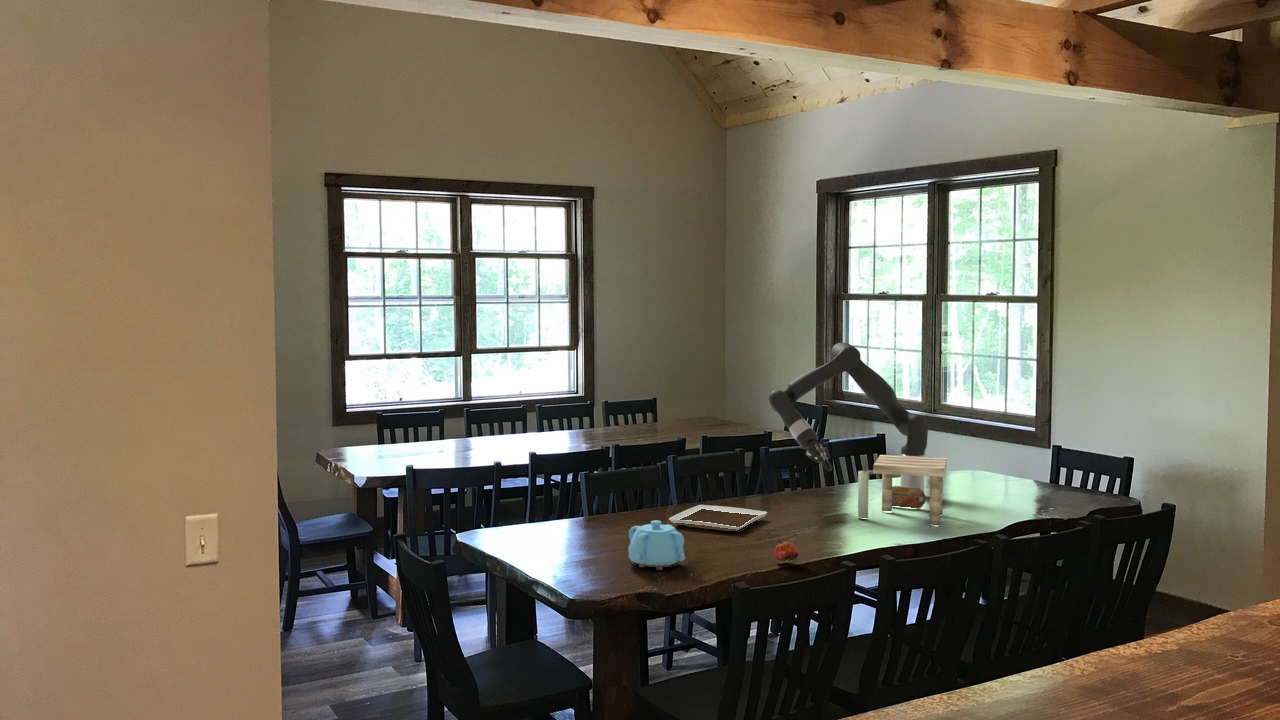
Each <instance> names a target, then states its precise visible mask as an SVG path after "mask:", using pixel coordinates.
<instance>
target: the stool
mask: <svg viewBox="0 0 1280 720" xmlns="http://www.w3.org/2000/svg"><path fill="white" fill-rule="evenodd" d="M947 460H948V457H940V456H939V457H934V456H933V457H932V456H925V457H917V456H901V455H892V454H890V455H889V454H880V455H879V456H878V458H877V459H876V460H875V462H874V463H873V467H872V468H873V469H872V470H873V473H876V474H875V475H878V474H879V475H881V476H882V477H881V480H882V481H881V482H882V483H881V488H882V489H881V512H882V511H892V512H893V508H892V487H893V475H899V476H901V475H915V476H924V477H930V478H929V479H930V480H929V525H930V524H932V525H940V526H941V516H940V515H942V516H943V495H944V494H943V492H944V491H943V490H944V489H943V483H944V480H943V479H944V478H945V475H946V472H947V466H948V464H947V463H948V461H947Z"/></svg>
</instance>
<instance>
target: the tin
mask: <svg viewBox="0 0 1280 720" xmlns="http://www.w3.org/2000/svg"><path fill="white" fill-rule="evenodd" d="M926 501H927V497H926V494H925V491H924V492H923V491H922V490H921V489H919V488H916V487H902V486H901V485H895V486H893V485H892V506H900V507H911V508H918V509H917V510H920V509H921V508H922V507H923V506H924V505H925V503H926Z"/></svg>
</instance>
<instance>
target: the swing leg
mask: <svg viewBox="0 0 1280 720" xmlns="http://www.w3.org/2000/svg"><path fill="white" fill-rule="evenodd" d="M857 474H858V475H857V478H858V479H857V483H858V484H857V518H858V517H860V518H868V519H869V476H870V475H877V474H876V473H873V469H872V470H858V471H857Z"/></svg>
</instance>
